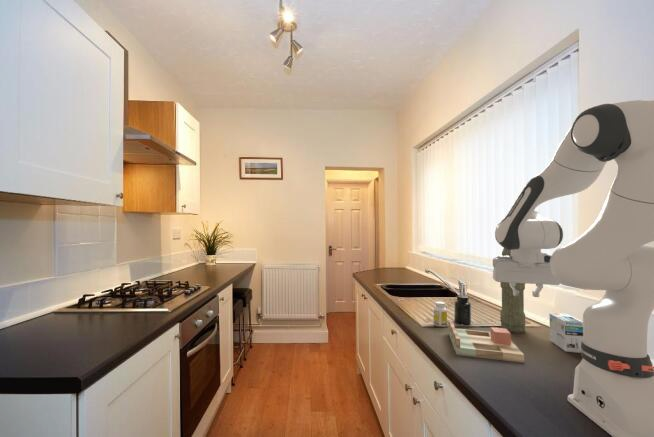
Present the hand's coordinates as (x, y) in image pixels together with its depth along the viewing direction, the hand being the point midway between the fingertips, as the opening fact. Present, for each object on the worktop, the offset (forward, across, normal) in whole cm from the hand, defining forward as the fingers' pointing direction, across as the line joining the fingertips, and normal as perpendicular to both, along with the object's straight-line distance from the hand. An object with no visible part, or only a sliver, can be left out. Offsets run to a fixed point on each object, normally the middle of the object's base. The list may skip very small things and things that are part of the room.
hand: (525, 296), depth 103 cm
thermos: (+19, +3, +24) cm, 31 cm away
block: (+17, -8, 0) cm, 18 cm away
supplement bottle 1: (+19, -26, +21) cm, 39 cm away
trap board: (+19, -14, 0) cm, 24 cm away
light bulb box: (+19, +16, +9) cm, 27 cm away
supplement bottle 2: (+19, -16, +27) cm, 37 cm away
